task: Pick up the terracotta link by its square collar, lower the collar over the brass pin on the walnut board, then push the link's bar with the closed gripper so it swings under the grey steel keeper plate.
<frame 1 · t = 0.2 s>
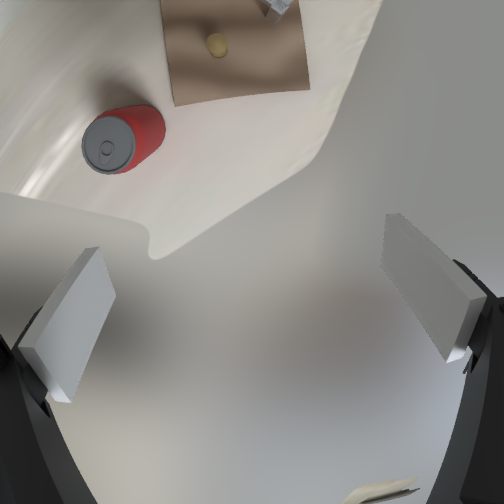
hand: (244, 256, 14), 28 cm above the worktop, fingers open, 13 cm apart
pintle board: (232, 20, 30), on the worktop
keeper: (262, 5, 30), resting on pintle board
beer can: (141, 129, 36), on the worktop
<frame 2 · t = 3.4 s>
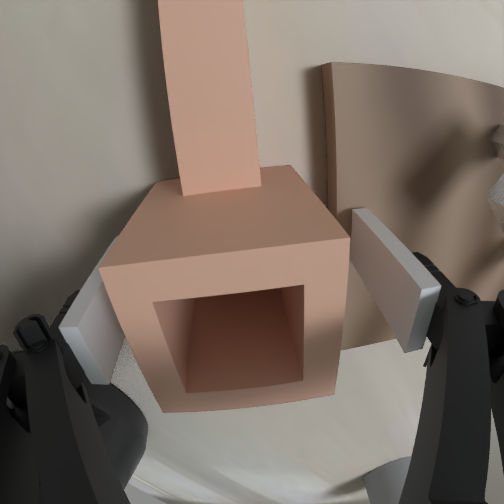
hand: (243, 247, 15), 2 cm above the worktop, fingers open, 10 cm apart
link: (210, 66, 12), on the worktop
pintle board: (470, 209, 16), on the worktop
keeper: (458, 147, 15), resting on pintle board
cup: (388, 468, 36), on the worktop
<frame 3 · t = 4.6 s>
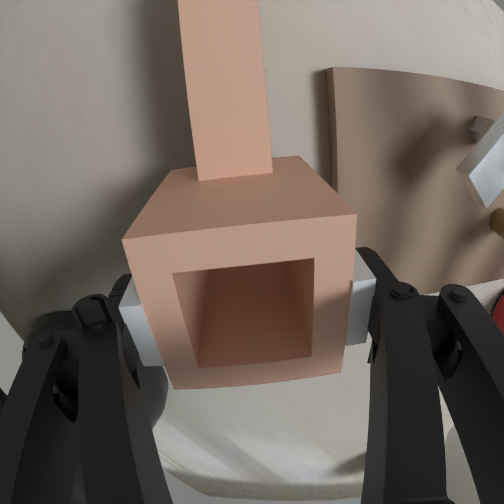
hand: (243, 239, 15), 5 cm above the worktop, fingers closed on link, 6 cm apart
link: (224, 61, 13), point 3 cm above the worktop, touching gripper
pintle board: (455, 189, 20), on the worktop
keeper: (441, 136, 18), resting on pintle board
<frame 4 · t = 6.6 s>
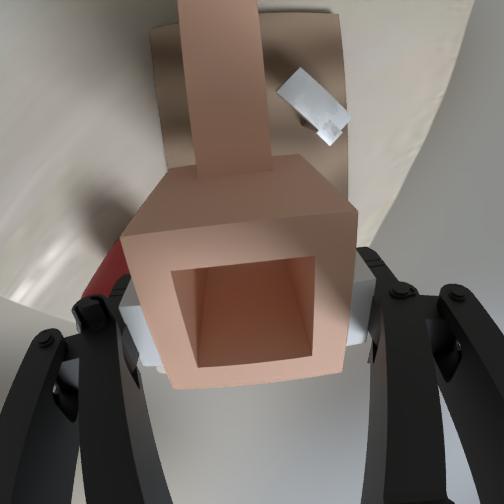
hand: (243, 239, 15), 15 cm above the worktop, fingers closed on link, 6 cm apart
link: (224, 59, 13), point 13 cm above the worktop, touching gripper
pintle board: (255, 123, 27), on the worktop
keeper: (297, 101, 26), resting on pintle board
beer can: (142, 256, 32), on the worktop
when the fingers open (3 cm above the worktop, at t = 9.0 s): link stays where it is, resting on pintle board.
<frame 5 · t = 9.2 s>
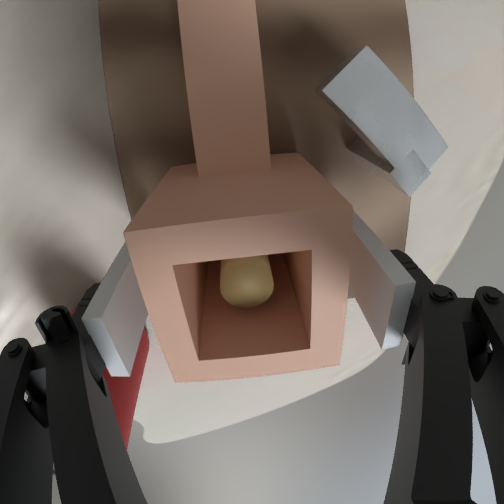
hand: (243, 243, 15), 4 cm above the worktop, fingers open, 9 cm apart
link: (223, 59, 13), point 1 cm above the worktop, touching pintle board
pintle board: (270, 141, 17), on the worktop
keeper: (338, 107, 16), resting on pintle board
beer can: (111, 328, 22), on the worktop
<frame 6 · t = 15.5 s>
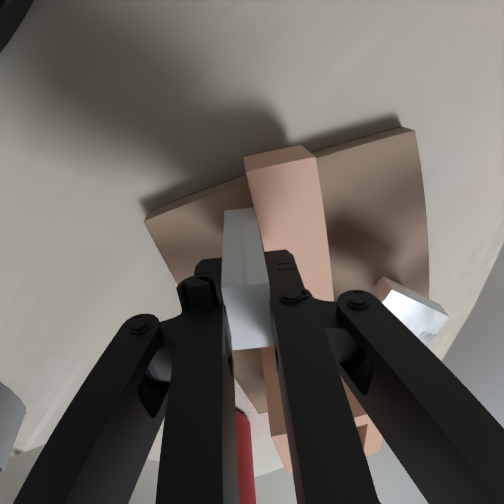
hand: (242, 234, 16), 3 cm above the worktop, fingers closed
link: (294, 262, 19), point 1 cm above the worktop, touching gripper, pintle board
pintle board: (319, 297, 22), on the worktop
keeper: (368, 260, 21), resting on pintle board
beer can: (217, 419, 29), on the worktop
cup: (0, 394, 28), on the worktop
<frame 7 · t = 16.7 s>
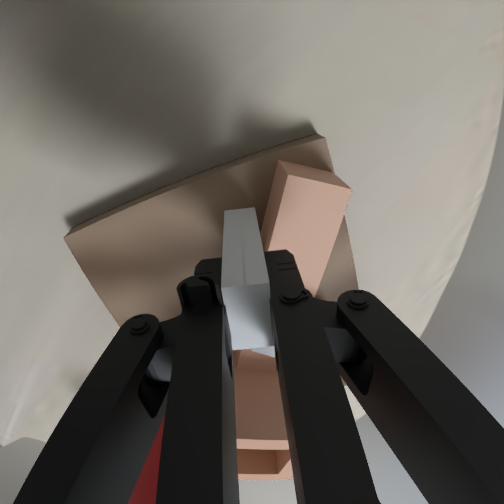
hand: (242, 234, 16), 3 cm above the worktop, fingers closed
link: (275, 276, 19), point 1 cm above the worktop, touching gripper, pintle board
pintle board: (241, 312, 22), on the worktop
beer can: (164, 423, 29), on the worktop
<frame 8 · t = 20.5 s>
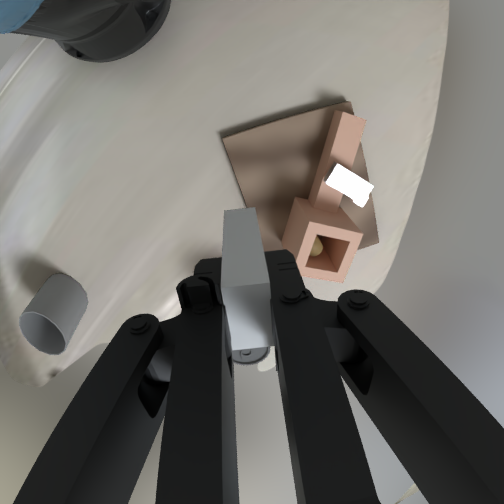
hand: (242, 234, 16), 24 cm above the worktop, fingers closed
link: (330, 165, 37), point 1 cm above the worktop, touching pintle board
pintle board: (308, 190, 40), on the worktop
keeper: (333, 170, 39), resting on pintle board
beer can: (243, 292, 47), on the worktop
cup: (66, 294, 46), on the worktop
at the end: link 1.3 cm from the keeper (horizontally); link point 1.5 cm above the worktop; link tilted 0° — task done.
